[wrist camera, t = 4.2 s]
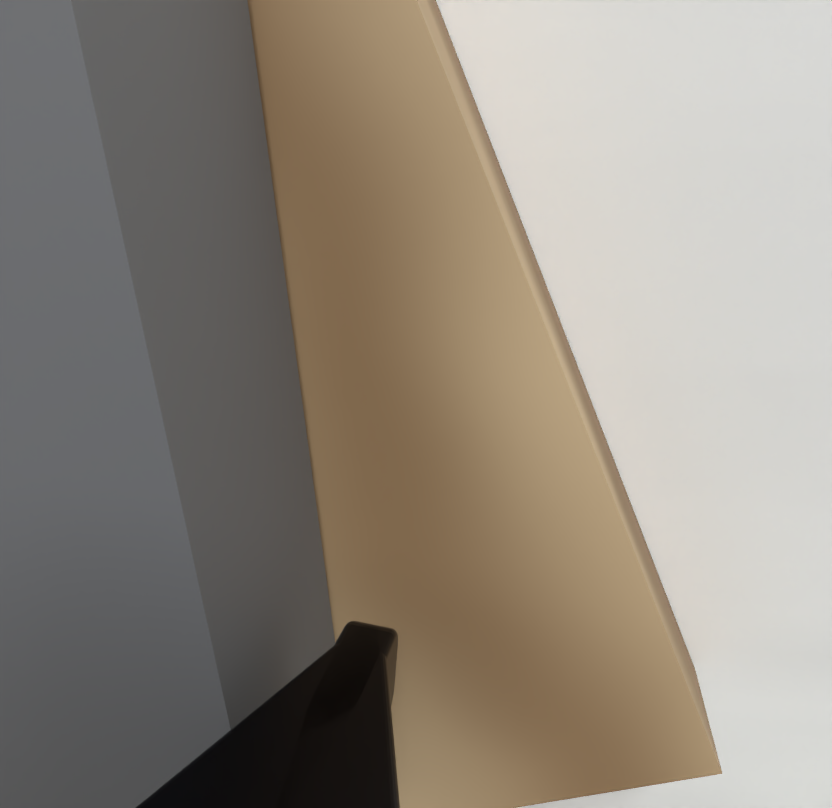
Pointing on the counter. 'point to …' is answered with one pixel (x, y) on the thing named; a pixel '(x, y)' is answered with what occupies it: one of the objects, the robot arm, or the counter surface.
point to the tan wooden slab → (458, 432)
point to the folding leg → (143, 402)
